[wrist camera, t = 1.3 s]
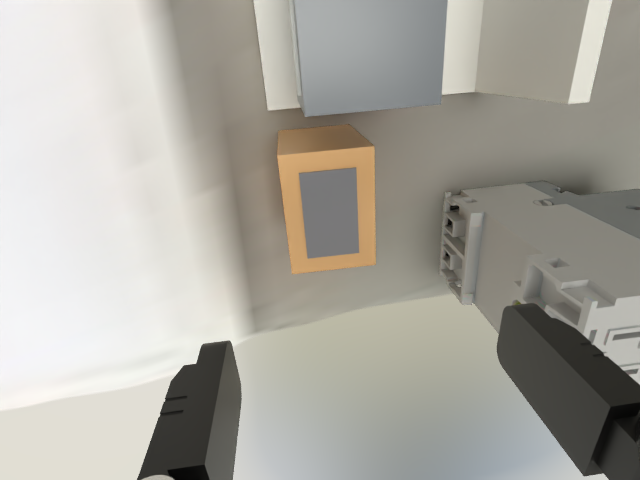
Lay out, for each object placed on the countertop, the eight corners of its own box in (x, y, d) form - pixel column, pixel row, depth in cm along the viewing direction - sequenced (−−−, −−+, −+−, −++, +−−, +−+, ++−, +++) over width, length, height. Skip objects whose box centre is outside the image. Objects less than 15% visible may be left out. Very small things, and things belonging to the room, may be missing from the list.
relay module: (349, 124, 26) (375, 146, 19) (352, 215, 29) (376, 266, 22) (278, 130, 26) (276, 156, 18) (289, 222, 29) (292, 275, 21)
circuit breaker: (594, 254, 33) (813, 386, 19) (438, 273, 32) (552, 424, 19) (617, 172, 29) (899, 261, 16) (444, 192, 29) (586, 302, 15)
